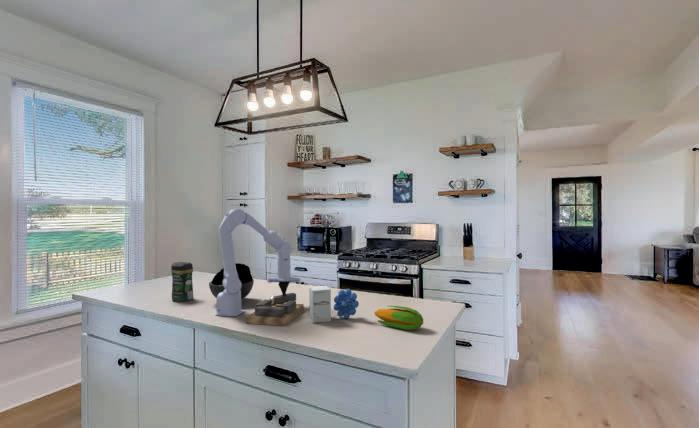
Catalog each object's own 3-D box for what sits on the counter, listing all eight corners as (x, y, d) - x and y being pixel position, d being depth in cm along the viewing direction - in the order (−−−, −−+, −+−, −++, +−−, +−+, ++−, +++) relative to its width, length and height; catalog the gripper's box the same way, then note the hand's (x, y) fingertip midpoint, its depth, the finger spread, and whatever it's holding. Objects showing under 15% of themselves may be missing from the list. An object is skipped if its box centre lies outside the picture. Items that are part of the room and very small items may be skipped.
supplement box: (312, 323, 130) (311, 290, 130) (309, 317, 138) (308, 286, 137) (331, 321, 132) (331, 289, 132) (327, 316, 140) (327, 285, 139)
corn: (418, 312, 118) (368, 303, 129) (418, 334, 117) (368, 324, 129) (426, 308, 124) (378, 300, 135) (426, 329, 123) (378, 320, 135)
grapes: (364, 317, 136) (363, 287, 136) (355, 322, 131) (355, 291, 131) (339, 313, 143) (339, 284, 142) (330, 318, 137) (330, 288, 137)
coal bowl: (242, 309, 151) (241, 266, 151) (200, 307, 154) (199, 265, 154) (260, 297, 171) (260, 259, 171) (223, 296, 174) (222, 259, 174)
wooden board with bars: (246, 323, 132) (245, 308, 132) (269, 308, 152) (269, 295, 152) (284, 325, 129) (284, 311, 129) (303, 310, 148) (303, 297, 148)
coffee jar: (168, 300, 167) (167, 262, 167) (182, 296, 174) (181, 260, 174) (183, 302, 163) (182, 263, 163) (196, 298, 170) (195, 261, 170)
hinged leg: (271, 306, 146) (271, 298, 146) (268, 304, 148) (268, 297, 148) (296, 300, 154) (296, 293, 154) (292, 299, 157) (292, 292, 157)
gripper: (265, 269, 151) (266, 300, 152) (298, 269, 151) (298, 300, 151) (269, 267, 158) (270, 296, 159) (301, 267, 158) (301, 296, 158)
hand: (284, 298), depth 155 cm, fingers closed, pressing on hinged leg
